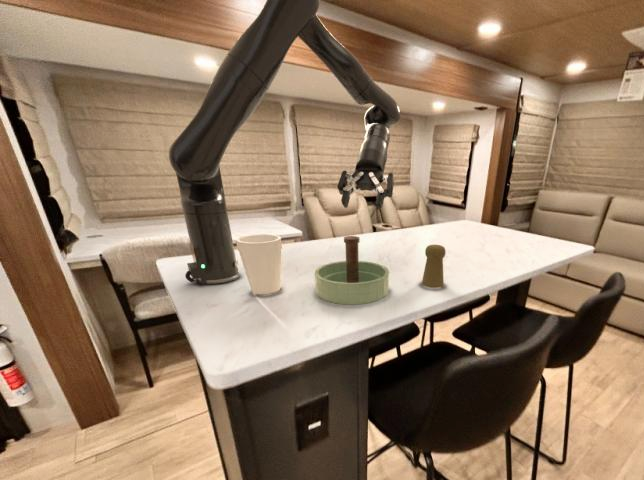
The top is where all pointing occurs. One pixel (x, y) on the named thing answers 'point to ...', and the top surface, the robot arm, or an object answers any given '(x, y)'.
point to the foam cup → (261, 261)
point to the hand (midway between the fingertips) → (361, 206)
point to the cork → (434, 266)
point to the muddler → (352, 259)
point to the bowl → (365, 291)
